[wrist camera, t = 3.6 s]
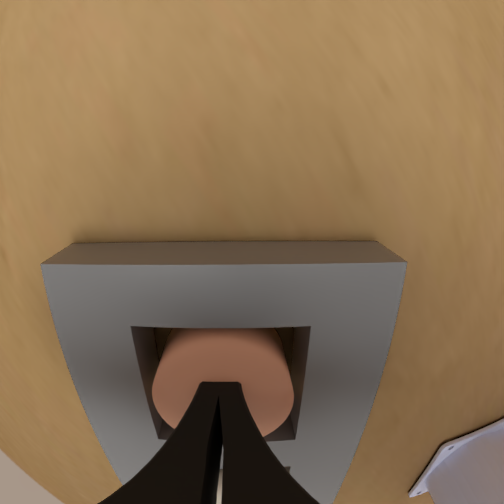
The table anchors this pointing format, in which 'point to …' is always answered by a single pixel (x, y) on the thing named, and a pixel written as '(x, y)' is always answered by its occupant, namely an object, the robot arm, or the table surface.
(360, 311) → the button board
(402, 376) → the table surface
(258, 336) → the button terracotta
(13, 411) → the table surface
